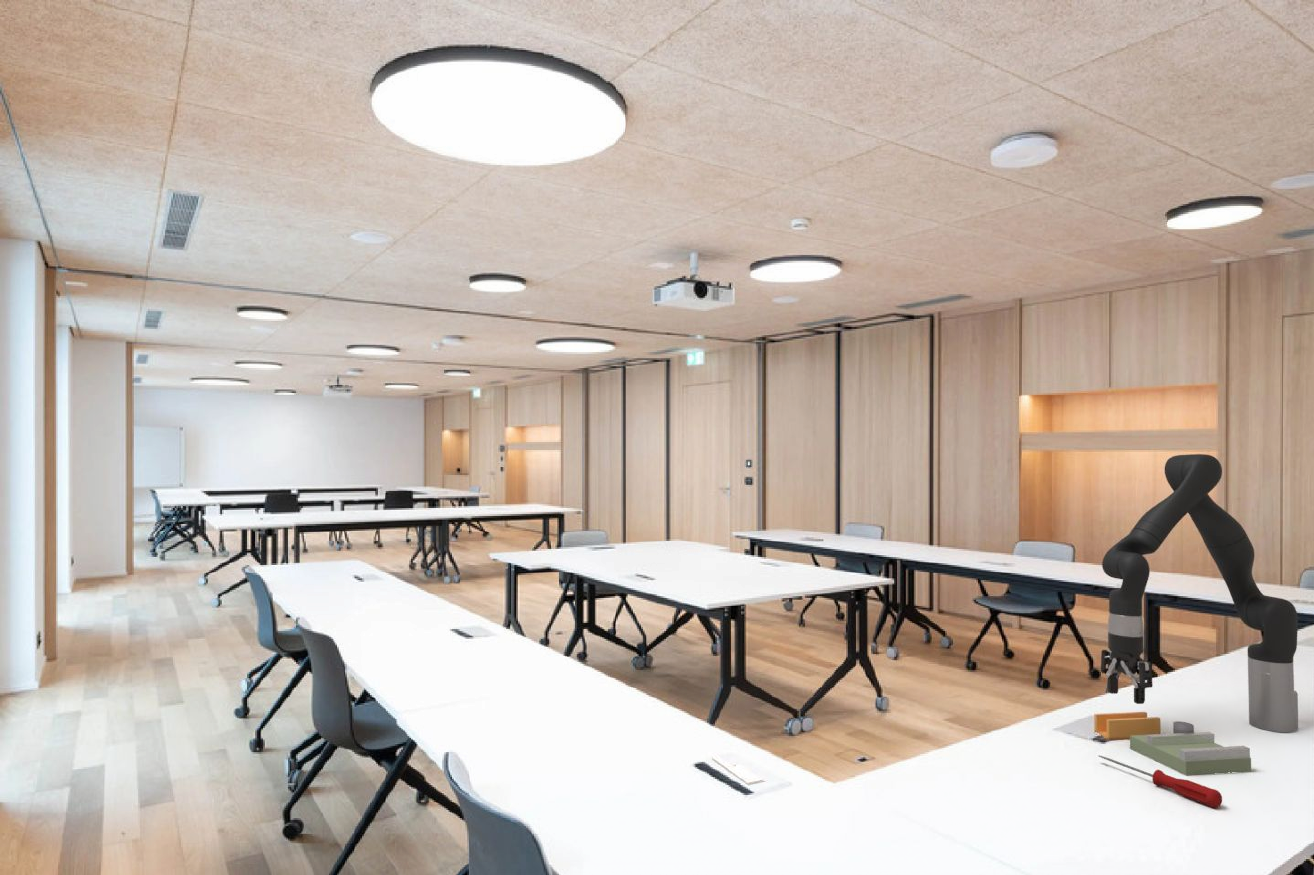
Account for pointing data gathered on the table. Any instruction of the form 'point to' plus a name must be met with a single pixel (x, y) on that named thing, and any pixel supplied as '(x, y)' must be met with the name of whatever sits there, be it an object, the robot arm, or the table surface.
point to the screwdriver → (1182, 786)
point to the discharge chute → (1125, 725)
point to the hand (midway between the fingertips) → (1125, 698)
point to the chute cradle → (1198, 753)
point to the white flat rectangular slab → (740, 772)
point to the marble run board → (1170, 758)
